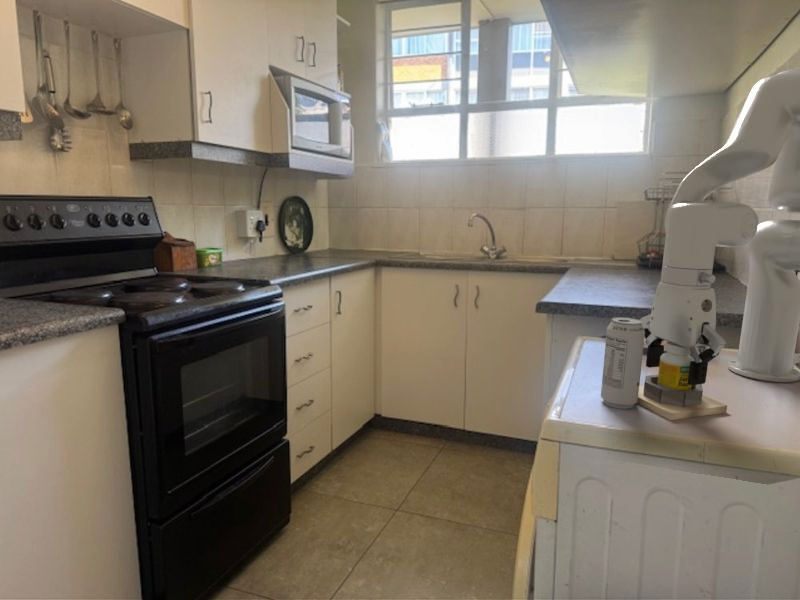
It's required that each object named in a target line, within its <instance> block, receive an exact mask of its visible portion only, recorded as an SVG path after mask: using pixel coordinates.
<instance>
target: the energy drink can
mask: <svg viewBox="0 0 800 600" xmlns="http://www.w3.org/2000/svg"><path fill="white" fill-rule="evenodd" d="M605 336H606V337H605V349H604V356H603V357H604V358H603V368H602V378H601V379H602V380H601V390H600V397H601V399H602V400H603V403H604V404H605V405H606V406H609V407H611V408H614V409H621V410H623V409H624V410H627V409H628V408H629V409H632V408H634V405H635V404H637V402H638V393H639V386H640V381H641V373H642V366H643V365H642V364H643V356H644V345H645V331H644V328H643V326H642V321H641V320H640V319H637V318H633V317H627V316H619V317H618V316H615V317H612V318H611V322H610V324H609V325H607V327H606V335H605Z"/></svg>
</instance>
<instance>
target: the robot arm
mask: <svg viewBox="0 0 800 600" xmlns="http://www.w3.org/2000/svg"><path fill="white" fill-rule="evenodd" d="M772 165H774V166H773V172H772V176H771V180H770V185H769V190H768V204H769V207H770V208H771V209H773V211H777V212H779V213H784V214H785V213H786V214H796V215H800V66H799V67H794V68H791V69H790V68H789V69H787V70H784V71H781V72H779V73H776V74H773V75H770V76H767V77H764V78H762V79H760V80H759V81H758V82H756V83H755V84H754V86H753V87H751V90H750V92H749V93H748V96H747V98H746V100H745V101H744V104H743V106H742V108H741V109H740V111H739V115H738V116H737V119H736V121H735V123H734V125H733V128H732V129H731V132H730V133H729V135H728V137H727V140H726V142H725V144H724V146H723V147H722V148H720V149H719V150H717V151H715V152H714V153H713V154H712V155H710V156H708V157H707V158H706V159H705V160H703V161H702V162H701V163H699V164H698V165H697V166H695V168H694V169H692V170H691V171H690V172H689V173H688V174H687V175H686V176H685V177H684V178H683V180H682V181H680V183H679V185H678V187H677V188H676V191H675V193H674V195H673V197H672V199H671V201H670V203H669V206H668V208H667V211H666V214H665V218H664V230H665V231H664V232H665V237H664V241H665V242H664V249H663V258H662V265H661V267H662V268H661V274H660V281H659V282H658V284H657V287H656V291H655V294H654V298H653V303H652V306H651V311H650V312H651V313H649V314H648V315H645V316H643V317H642V316H641V318H640V319H639V320H641V321H642V326H643V328H644V331H645V337H644V344H645V345H646V346H647V353H646V360H645V367H647V368H650V369H651V368H659V364H660V357H661V355H662V354H664V353H665V344H662V343H664V341H666V342H672V343H675V344H678V345H681V346H684V347H688V348H689V350H690V352H691V354H690V355H691V357H692V358H693V359H694V361H691V362H690V368H689V376H688V384H690V385H698V384H702V385H704V384H706V380H707V373H708V366H709V363H710V362H712V361H713V360H714V359H715V358H717V356H719V354H720V352H721V351H722V349H723V348H724V347H725V346H726V340H725V339H724V338H723V337H722V336H721V335H720V334H719V333H718V332H717V331H716V325H717V299H716V292H715V291H716V290H715V288H712V287H711V285H712V284H714V283H715V282H716V275H714V274H713V269H714V262H715V254H716V247H723V248H724V247H725V248H736V247H740V246H743V245H746V244H747V247H748V248H747V250H748V266H749V267H748V281H747V289H746V297H745V303H744V309H743V318H742V323H741V324H742V325H741V330H740V332H741V333H740V338H739V346H738V351H737V352H738V353H737V357H736V358H734V359H731V360H729V361H728V362H727V368H728V369H729V370H730V372H731V371H732V372H733V373H735V374H736V375H741V376H744V377H746V378H751V379H754V380H755V379H756V380H759V381H764V382H765V381H766V382H774V383H794V382H797V381H800V371H799V370H797V369H796V368H795V365H796V364H800V353H795V351H796V346H797V340H798V335H799V334H798V333H799V326H800V279H799V277H798V276H797V274H796V273H795V271H800V219H771V220H765V221H763V222H760V223H759V217H758V215H757V213H756V211H755V209H753V208H752V207H750V206H749V205H747V204H746V203H741V202H726V201H724V202H723V201H720V202H719V201H705V199H707V197H708V196H709V195H710V194H712V193H714V192H715V191H716V190H718V189H720V188H722V187H724V186H726V185H728V184H730V183H733V182H736V181H738V180H742V179H744V178H746V177H749V176H752V175H755V174H757V173H760V172H762V171H764V170H766V169H768V168H770V167H771V166H772Z"/></svg>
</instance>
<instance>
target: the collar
mask: <svg viewBox="0 0 800 600" xmlns="http://www.w3.org/2000/svg"><path fill="white" fill-rule="evenodd" d="M657 382H658V374H652V375H645V378H644V383H643V384H644V385H639V393H638V402H637V403H636V404H637V405H639V406H640V407H643V408H645V409H647V410H649V411H651V412H653V413H655V414H657V415H659V416H660V417H663V418H665V419H667V420H669V421H675V420H682V419H683V420H684V419H689V418H696V417H703V416H708V415H709V416H710V415H711V416H712V415H717V414H724V413H727V412H728V411H727V410H728V405H727V404H724V403H722V402H720V401H718V400H714V399H712V398H710V397H708V396H706V395H703V392H704V390H703V389H704V388H703V384H698V385H691V390H685V391H681V390H674V389H668V388H663V387H661V386H658V385H657Z"/></svg>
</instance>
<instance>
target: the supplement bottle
mask: <svg viewBox="0 0 800 600" xmlns="http://www.w3.org/2000/svg"><path fill="white" fill-rule="evenodd" d="M664 350H665V351H666V352H664V354H662V355H661V357H660V364H659V367H658V374H657V375H658V382H657V385H658V386H661V387H663V388H668V389H674V390H681V391H685V390H691V385H690V384H688V376H689V368H690V362H691V361H694V359H693V357H692V354H691V352H690V350H689V348H688V347H684V346H681V345H678V344H675V343H672V342H669V341H666V343H665V347H664Z"/></svg>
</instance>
